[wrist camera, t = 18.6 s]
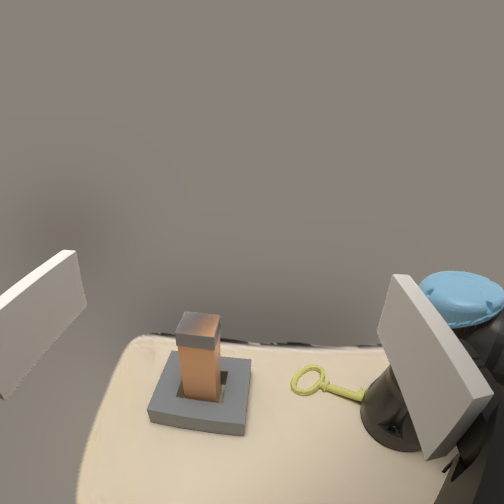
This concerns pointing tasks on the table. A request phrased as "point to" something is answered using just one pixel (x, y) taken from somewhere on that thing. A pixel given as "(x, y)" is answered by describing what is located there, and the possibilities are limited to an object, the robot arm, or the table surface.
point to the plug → (200, 355)
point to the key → (323, 385)
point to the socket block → (202, 412)
